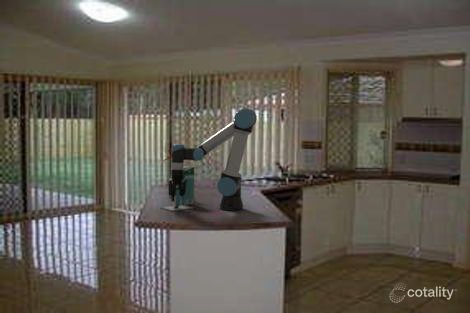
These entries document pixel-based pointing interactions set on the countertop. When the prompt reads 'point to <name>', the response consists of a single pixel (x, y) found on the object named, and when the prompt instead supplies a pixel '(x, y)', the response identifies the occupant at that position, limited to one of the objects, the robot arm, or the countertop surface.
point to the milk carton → (188, 186)
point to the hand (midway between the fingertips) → (176, 206)
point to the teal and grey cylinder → (177, 197)
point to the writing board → (177, 208)
